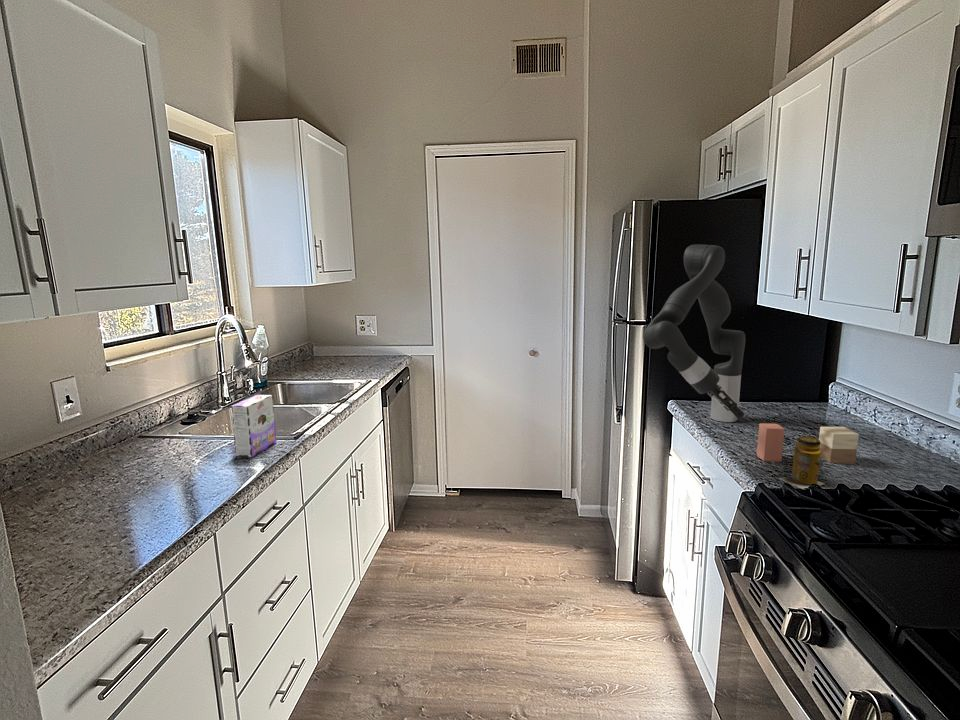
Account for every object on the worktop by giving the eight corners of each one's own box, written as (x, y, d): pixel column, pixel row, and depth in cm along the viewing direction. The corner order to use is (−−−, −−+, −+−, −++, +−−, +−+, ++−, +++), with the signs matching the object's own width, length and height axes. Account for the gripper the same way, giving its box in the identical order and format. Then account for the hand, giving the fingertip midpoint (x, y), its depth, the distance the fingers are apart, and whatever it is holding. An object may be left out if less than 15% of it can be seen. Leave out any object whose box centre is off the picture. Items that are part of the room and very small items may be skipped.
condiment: (825, 484, 144) (830, 441, 142) (803, 490, 141) (808, 445, 138) (799, 474, 151) (803, 433, 148) (778, 479, 147) (782, 437, 145)
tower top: (818, 440, 165) (820, 426, 164) (842, 441, 164) (844, 426, 163) (832, 448, 158) (833, 434, 157) (857, 449, 157) (858, 434, 156)
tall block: (756, 454, 165) (759, 423, 163) (773, 455, 165) (776, 423, 163) (763, 461, 160) (766, 428, 159) (781, 461, 160) (784, 428, 158)
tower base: (817, 455, 165) (818, 440, 164) (841, 455, 165) (843, 441, 164) (829, 463, 158) (831, 448, 158) (855, 464, 158) (856, 449, 157)
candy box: (261, 441, 181) (257, 393, 178) (277, 442, 180) (273, 394, 177) (234, 456, 168) (229, 404, 165) (251, 457, 167) (247, 405, 164)
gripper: (717, 370, 152) (756, 410, 153) (701, 360, 166) (736, 397, 167) (696, 388, 154) (735, 428, 155) (682, 377, 168) (717, 414, 169)
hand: (736, 412), depth 161 cm, fingers open, 8 cm apart
